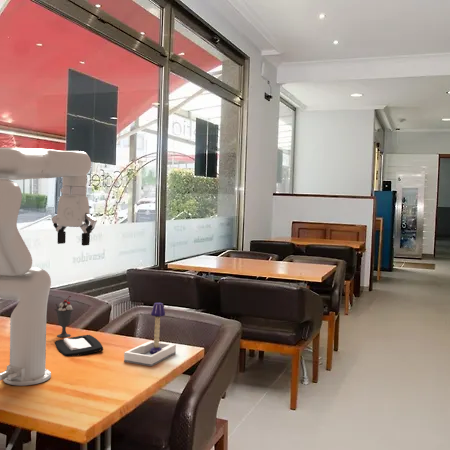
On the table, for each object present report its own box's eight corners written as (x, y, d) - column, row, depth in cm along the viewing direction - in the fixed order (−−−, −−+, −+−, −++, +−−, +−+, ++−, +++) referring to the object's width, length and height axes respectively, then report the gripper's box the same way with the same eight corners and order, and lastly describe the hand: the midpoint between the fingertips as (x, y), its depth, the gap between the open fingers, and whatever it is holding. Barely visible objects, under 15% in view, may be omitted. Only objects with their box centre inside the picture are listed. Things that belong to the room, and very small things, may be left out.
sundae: (77, 335, 195) (77, 295, 195) (62, 339, 189) (63, 298, 189) (65, 332, 199) (65, 293, 198) (50, 336, 193) (51, 296, 192)
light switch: (51, 338, 185) (91, 330, 191) (52, 346, 185) (91, 338, 192) (63, 352, 167) (106, 344, 174) (64, 361, 168) (106, 352, 174)
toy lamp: (152, 350, 177) (153, 301, 176) (165, 351, 176) (166, 302, 176) (148, 353, 172) (149, 304, 172) (161, 355, 172) (163, 304, 171)
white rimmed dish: (151, 366, 161) (151, 356, 161) (124, 361, 165) (124, 352, 165) (175, 353, 176) (175, 344, 176) (149, 349, 180) (150, 340, 180)
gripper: (45, 191, 170) (44, 243, 170) (89, 192, 163) (87, 246, 164) (60, 192, 177) (59, 242, 177) (103, 193, 170) (102, 245, 171)
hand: (73, 244), depth 170 cm, fingers open, 9 cm apart
